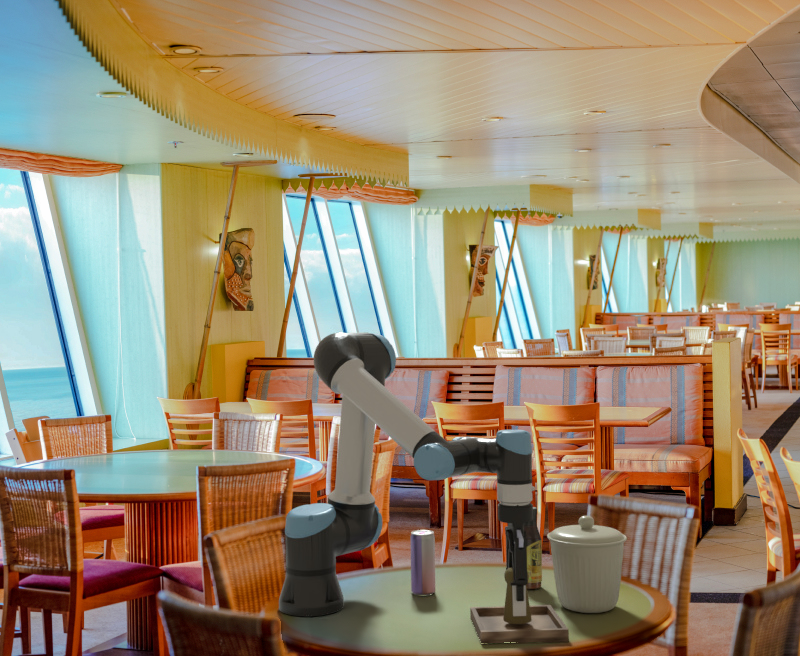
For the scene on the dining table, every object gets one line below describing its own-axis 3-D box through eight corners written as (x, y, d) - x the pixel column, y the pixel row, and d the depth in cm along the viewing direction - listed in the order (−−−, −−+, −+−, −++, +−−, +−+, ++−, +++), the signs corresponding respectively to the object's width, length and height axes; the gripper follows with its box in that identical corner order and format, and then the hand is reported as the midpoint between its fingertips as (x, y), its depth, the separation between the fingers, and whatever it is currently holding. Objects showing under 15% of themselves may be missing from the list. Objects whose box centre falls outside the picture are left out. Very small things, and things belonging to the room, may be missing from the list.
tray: (481, 644, 187) (480, 632, 187) (470, 618, 205) (470, 607, 205) (568, 641, 187) (568, 629, 187) (550, 616, 205) (550, 604, 205)
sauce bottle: (536, 591, 226) (534, 510, 226) (512, 588, 229) (511, 508, 230) (546, 585, 231) (545, 506, 232) (523, 582, 235) (522, 504, 235)
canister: (642, 615, 205) (640, 520, 205) (566, 621, 201) (564, 525, 202) (607, 594, 223) (605, 507, 223) (537, 599, 219) (535, 511, 219)
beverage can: (410, 596, 224) (409, 534, 224) (412, 589, 230) (411, 529, 230) (434, 596, 223) (433, 534, 223) (436, 590, 229) (435, 529, 229)
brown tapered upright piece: (530, 624, 192) (529, 571, 193) (501, 623, 194) (500, 570, 194) (532, 616, 198) (531, 565, 199) (504, 615, 200) (503, 564, 200)
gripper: (540, 509, 188) (543, 623, 187) (525, 495, 206) (527, 599, 205) (504, 510, 188) (506, 624, 187) (491, 496, 205) (493, 600, 205)
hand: (517, 611), depth 196 cm, fingers closed on brown tapered upright piece, 5 cm apart
